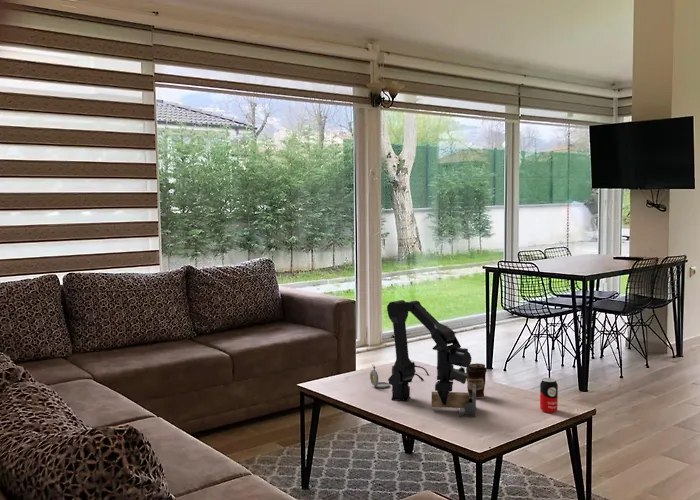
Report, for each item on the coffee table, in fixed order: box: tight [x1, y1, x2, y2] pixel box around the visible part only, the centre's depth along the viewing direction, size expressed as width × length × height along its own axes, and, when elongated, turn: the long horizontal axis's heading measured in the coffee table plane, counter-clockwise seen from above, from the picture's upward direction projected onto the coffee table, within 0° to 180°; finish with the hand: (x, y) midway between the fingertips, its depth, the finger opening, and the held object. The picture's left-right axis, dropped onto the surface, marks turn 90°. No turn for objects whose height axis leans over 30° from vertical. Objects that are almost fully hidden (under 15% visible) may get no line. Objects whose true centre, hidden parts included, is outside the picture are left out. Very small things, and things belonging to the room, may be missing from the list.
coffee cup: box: [465, 362, 488, 399], centre depth 275 cm, size 9×8×13 cm
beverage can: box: [539, 377, 559, 414], centre depth 256 cm, size 6×6×12 cm
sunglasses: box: [391, 364, 430, 381], centre depth 307 cm, size 14×16×5 cm
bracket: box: [458, 383, 477, 418], centre depth 256 cm, size 6×12×9 cm, turn 169°
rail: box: [431, 391, 470, 409], centre depth 258 cm, size 14×4×5 cm, turn 83°
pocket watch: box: [369, 364, 390, 389], centre depth 291 cm, size 8×8×10 cm
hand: (444, 403), depth 258 cm, fingers closed on rail, 4 cm apart
